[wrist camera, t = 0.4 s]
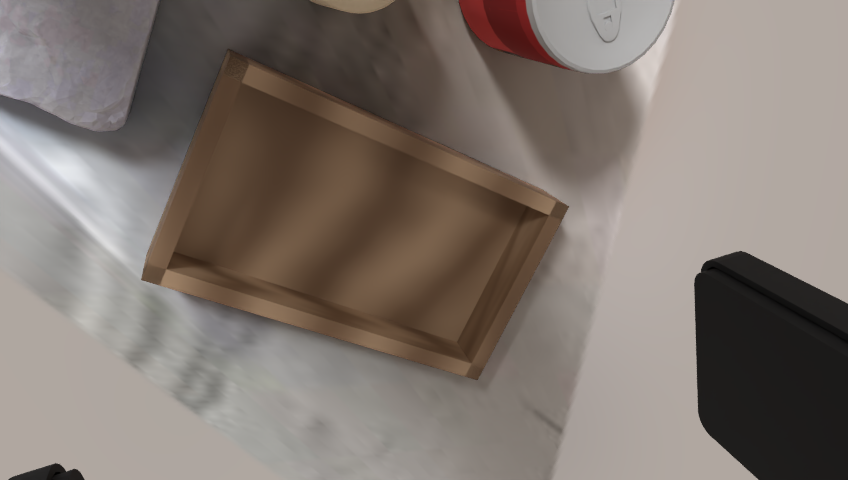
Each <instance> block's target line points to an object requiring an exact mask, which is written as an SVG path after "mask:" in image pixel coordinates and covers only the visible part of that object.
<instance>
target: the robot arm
mask: <svg viewBox="0 0 848 480" xmlns="http://www.w3.org/2000/svg"><path fill="white" fill-rule="evenodd" d="M694 287H695V321H696V355H697V389H698V413H699V417H700V421H701V423H702V425H703V427H704V428H705V430H706V431H707V433H708V434H709V435H710V436H711V437H712V438H713V439H715V440H716V441H717V442H718V443H719V444H720V445H721V446H722V447H723V448H724V449H726V450H727V451H728V452H729V453H730V454H731V455H732V456H733V457H734V458H736V459H737V460H738V461H739V462H740V463H741V464H742V465H743V466H744V467H745V468H746V469H748V470H749V471H750V472H751V473H752V474H753V475H754V476H755V477H756V478H758V479H759V480H848V304H847V303H845V302H843V301H841V300H840V299H838V298H836V297H833V296H831V295H830V294H828V293H826V292H823V291H821V290H820V289H818V288H816V287H814V286H812V285H810V284H808V283H806V282H804V281H802V280H800V279H798V278H796V277H794V276H792V275H790V274H788V273H786V272H784V271H782V270H780V269H778V268H776V267H774V266H772V265H770V264H768V263H766V262H764V261H762V260H760V259H758V258H756V257H754V256H752V255H750V254H748V253H746V252H742V251H739V252H734V253H731V254H728V255H725V256H721V257H718V258H715V259H712V260H709V261H706V262H705V263H704V264H703V266H702V269H701V273H699V274H697V276H696V278H695V283H694ZM9 480H84V478H83V476H82V474H81V473H80V472H79V471H78V470H76V469H73V470H70V471H67V472H66V471H65V469H64V468H63V467H62V466H61V465H60V464H56V463H55V464H52V465H49V466H46V467H43V468H39V469H36V470H33V471H30V472H26V473H23V474H20V475H17V476H14V477H12V478H10V479H9Z"/></svg>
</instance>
